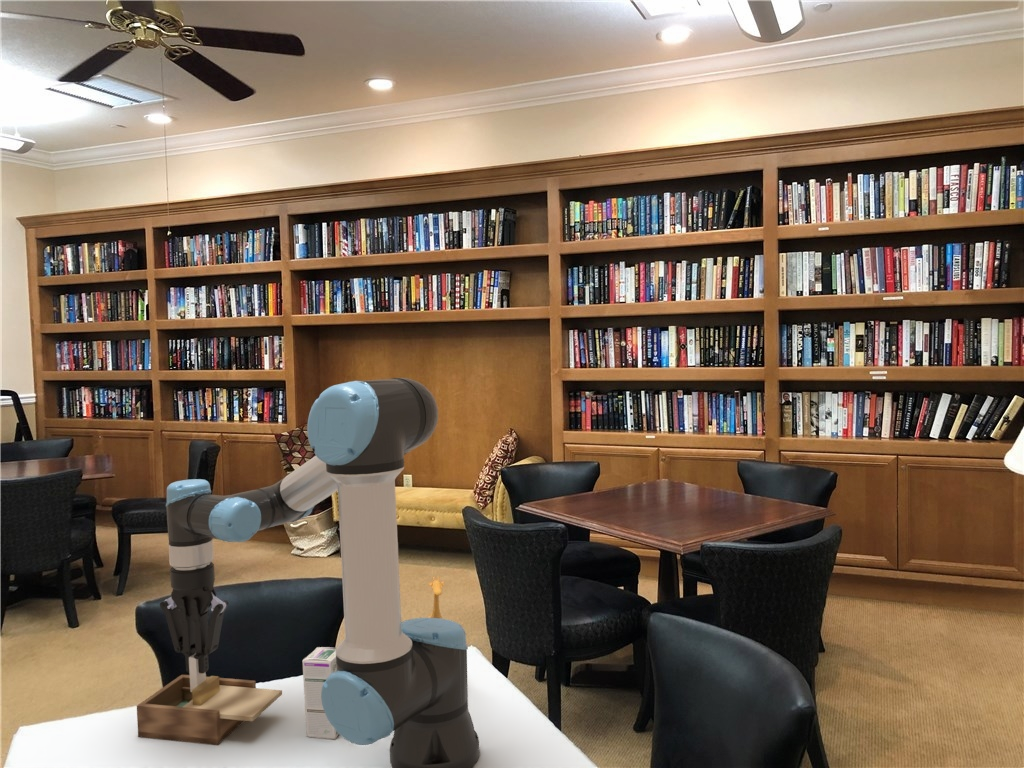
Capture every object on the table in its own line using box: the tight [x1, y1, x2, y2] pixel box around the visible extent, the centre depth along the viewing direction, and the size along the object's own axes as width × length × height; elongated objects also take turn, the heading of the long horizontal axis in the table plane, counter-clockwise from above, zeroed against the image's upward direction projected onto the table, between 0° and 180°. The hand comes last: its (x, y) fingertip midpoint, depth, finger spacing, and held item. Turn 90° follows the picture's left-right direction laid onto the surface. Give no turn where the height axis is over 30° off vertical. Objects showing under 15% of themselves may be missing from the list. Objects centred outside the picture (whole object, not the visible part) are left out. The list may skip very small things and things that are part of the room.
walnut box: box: [136, 674, 257, 746], centre depth 145 cm, size 16×13×6 cm
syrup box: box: [302, 646, 340, 740], centre depth 141 cm, size 6×6×14 cm
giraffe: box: [427, 576, 445, 619], centre depth 155 cm, size 16×4×25 cm, turn 10°
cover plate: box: [183, 675, 283, 722], centre depth 143 cm, size 15×10×4 cm
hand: (198, 688), depth 145 cm, fingers closed
